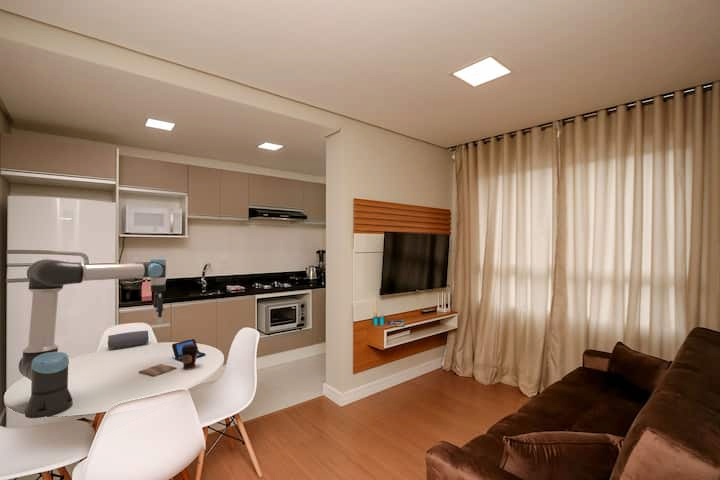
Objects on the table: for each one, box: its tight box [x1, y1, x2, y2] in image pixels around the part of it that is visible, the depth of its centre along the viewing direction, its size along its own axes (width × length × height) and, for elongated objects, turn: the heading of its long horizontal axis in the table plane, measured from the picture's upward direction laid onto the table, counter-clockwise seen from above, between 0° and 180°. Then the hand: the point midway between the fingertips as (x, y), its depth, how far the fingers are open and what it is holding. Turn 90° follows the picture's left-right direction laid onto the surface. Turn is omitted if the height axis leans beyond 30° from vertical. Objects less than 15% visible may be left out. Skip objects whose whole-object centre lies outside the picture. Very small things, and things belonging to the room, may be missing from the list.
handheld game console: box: [171, 338, 206, 363], centre depth 213 cm, size 16×13×9 cm
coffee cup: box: [182, 343, 199, 370], centre depth 194 cm, size 9×8×13 cm
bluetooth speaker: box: [107, 330, 150, 349], centre depth 232 cm, size 23×9×10 cm, turn 130°
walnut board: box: [138, 363, 177, 378], centre depth 189 cm, size 13×13×1 cm
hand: (157, 320), depth 195 cm, fingers open, 13 cm apart
